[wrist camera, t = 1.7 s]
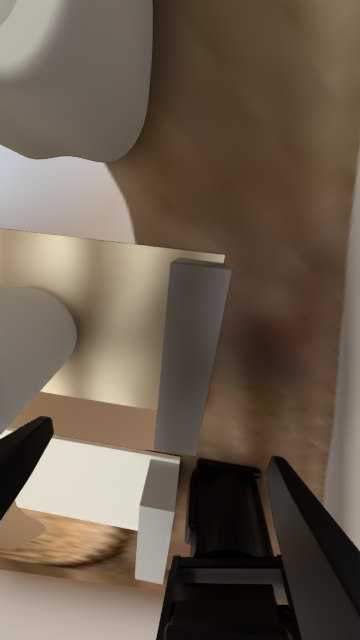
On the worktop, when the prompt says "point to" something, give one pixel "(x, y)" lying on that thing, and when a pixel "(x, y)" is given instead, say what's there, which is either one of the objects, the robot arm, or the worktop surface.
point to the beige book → (130, 322)
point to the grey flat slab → (109, 493)
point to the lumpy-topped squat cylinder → (74, 76)
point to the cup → (30, 346)
